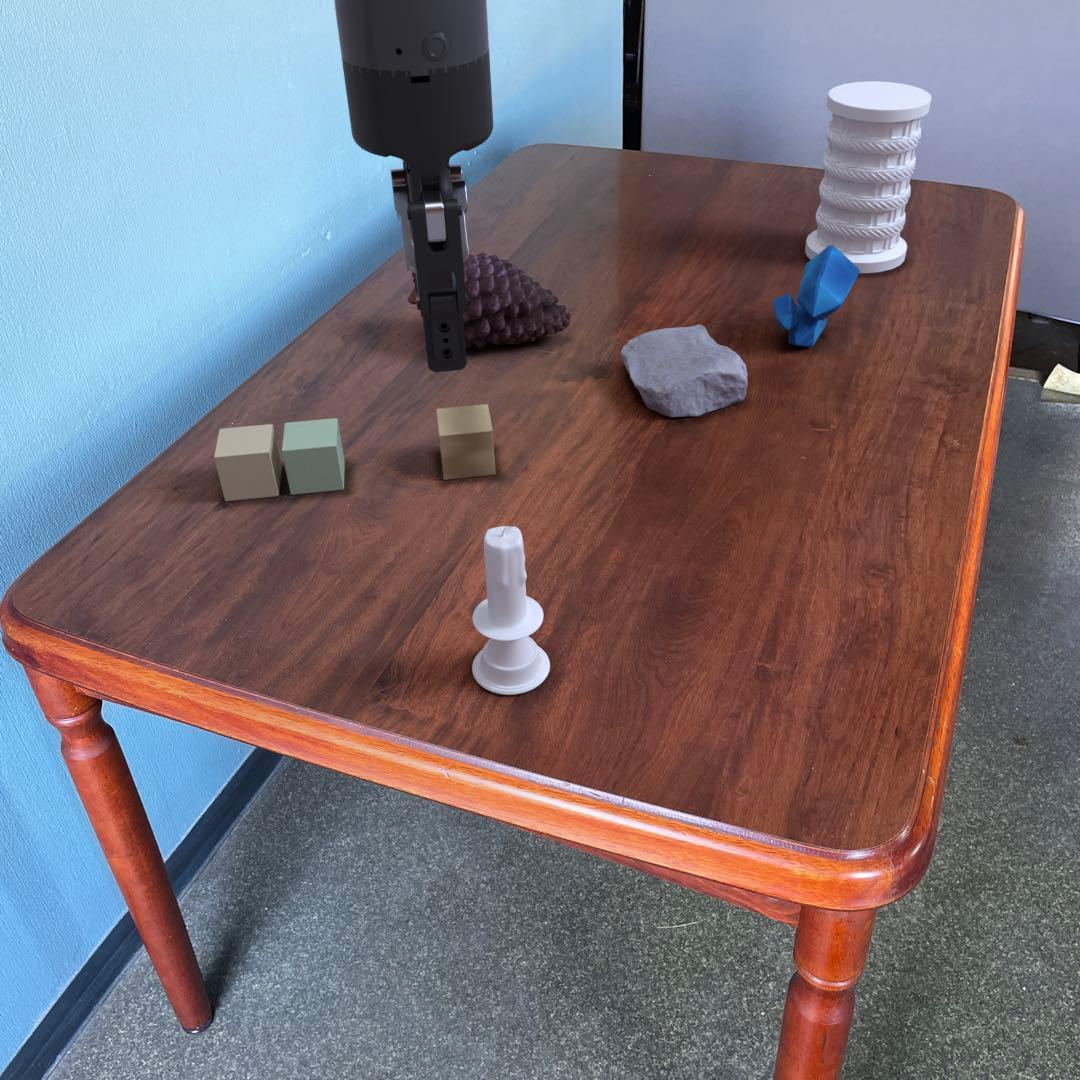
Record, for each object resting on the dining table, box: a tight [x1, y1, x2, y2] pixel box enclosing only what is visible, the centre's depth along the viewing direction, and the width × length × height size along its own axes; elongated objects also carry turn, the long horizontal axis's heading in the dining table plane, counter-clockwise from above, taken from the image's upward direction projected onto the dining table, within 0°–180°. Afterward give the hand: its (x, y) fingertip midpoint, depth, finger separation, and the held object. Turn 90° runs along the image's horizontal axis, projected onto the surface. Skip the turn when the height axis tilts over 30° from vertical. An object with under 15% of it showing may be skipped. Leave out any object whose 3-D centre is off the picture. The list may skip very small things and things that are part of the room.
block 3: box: [435, 403, 496, 481], centre depth 93 cm, size 4×4×4 cm
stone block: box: [620, 324, 749, 418], centre depth 103 cm, size 12×5×10 cm
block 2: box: [281, 417, 346, 496], centre depth 92 cm, size 4×4×4 cm
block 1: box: [213, 423, 283, 502], centre depth 91 cm, size 4×4×4 cm
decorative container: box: [804, 80, 933, 274], centre depth 122 cm, size 12×12×18 cm
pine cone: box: [407, 252, 572, 349], centre depth 110 cm, size 18×10×10 cm
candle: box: [471, 525, 551, 696], centre depth 70 cm, size 5×5×12 cm
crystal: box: [772, 245, 860, 349], centre depth 109 cm, size 7×9×12 cm
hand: (442, 334), depth 64 cm, fingers open, 8 cm apart
